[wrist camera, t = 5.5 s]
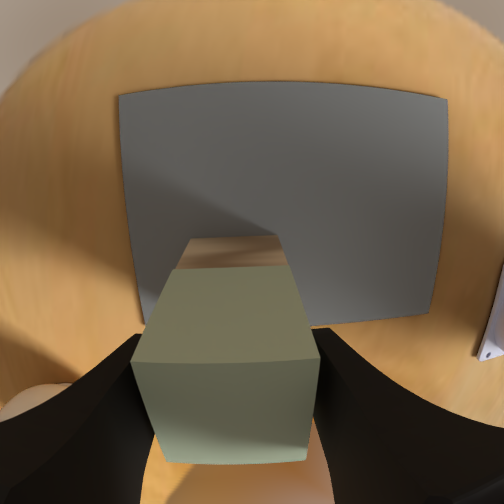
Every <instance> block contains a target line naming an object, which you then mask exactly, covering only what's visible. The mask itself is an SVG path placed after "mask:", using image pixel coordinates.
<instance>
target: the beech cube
mask: <svg viewBox="0 0 504 504" xmlns="http://www.w3.org/2000/svg"><path fill="white" fill-rule="evenodd" d="M280 265H288V263H287V260H286V257H285V254H284V252H283V249H282V246H281V243H280V241H279V238H278V235H267V236H240V237H216V238H193V239H190V241H189V243H188V245H187V247H186V249H185V251H184V253H183V255H182V256H181V258H180V260H179V262H178V264H177V266H176V268H175V269H199V268H228V267H255V266H280Z"/></svg>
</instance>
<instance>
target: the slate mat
mask: <svg viewBox="0 0 504 504" xmlns="http://www.w3.org/2000/svg"><path fill="white" fill-rule="evenodd" d="M119 123H120V143H121V158H122V171H123V183H124V193H125V202H126V211H127V219H128V227H129V235H130V242H131V249H132V255H133V262H134V268H135V274H136V279H137V285H138V291H139V296H140V301H141V306H142V311H143V316H144V321H145V326H146V325H147V323H148V320H149V318H150V316H151V314H152V312H153V310H154V307H155V305H156V303H157V301H158V299H159V297H160V295H161V292H162V290H163V288H164V286H165V284H166V282H167V280H168V278H169V276H170V274H171V272H172V270H173V269H175V268H176V266H177V264H178V262H179V260H180V258H181V256H182V255H183V253H184V251H185V249H186V247H187V245H188V243H189V241H190V239H193V238H216V237H240V236H267V235H278V238H279V241H280V243H281V246H282V249H283V252H284V254H285V257H286V260H287V263H288V265H289V266H290V268H291V271H292V274H293V277H294V280H295V283H296V286H297V289H298V292H299V295H300V298H301V301H302V304H303V307H304V310H305V313H306V315H307V318H308V321H309V325H310V326H317V325H329V324H340V323H351V322H361V321H371V320H380V319H388V318H397V317H405V316H412V315H420V314H427V313H429V308H430V304H431V299H432V294H433V289H434V284H435V278H436V273H437V267H438V261H439V254H440V248H441V240H442V232H443V224H444V215H445V204H446V191H447V174H448V101H447V99H442V98H437V97H432V96H427V95H422V94H416V93H410V92H404V91H397V90H391V89H383V88H375V87H366V86H357V85H346V84H332V83H315V82H233V83H215V84H202V85H191V86H181V87H172V88H164V89H156V90H149V91H143V92H136V93H130V94H124V95H119Z"/></svg>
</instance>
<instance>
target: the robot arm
mask: <svg viewBox="0 0 504 504" xmlns="http://www.w3.org/2000/svg"><path fill="white" fill-rule="evenodd" d="M311 331H312V334H313V337H314V340H315V343H316V346H317V349H318V352H319V355H320V366H319V374H318V382H317V390H316V397H315V404H314V411H313V418H314V421H315V424H316V428H317V431H318V434H319V437H320V440H321V444H322V447H323V450H324V454H325V457H326V460H327V464H328V468H329V472H330V477H331V483H332V488H333V494H334V501H335V504H504V428H501V427H496V426H491V425H487V424H484V423H481V422H478V421H474V420H471V419H468V418H465V417H463V416H460V415H457V414H455V413H452V412H450V411H448V410H445V409H443V408H441V407H439V406H437V405H434V404H432V403H430V402H428V401H426V400H424V399H422V398H421V397H419V396H417V395H415V394H414V393H412V392H410V391H409V390H407V389H405V388H404V387H402V386H400V385H399V384H397V383H396V382H394V381H393V380H392V379H390V378H389V377H387V376H386V375H385V374H383V373H382V372H380V371H379V370H378V369H376V368H375V367H374V366H373V365H371V364H370V363H369V362H368V361H366V360H365V359H364V358H363V357H362V356H360V355H359V354H358V353H357V352H356V351H355V350H353V349H352V348H351V347H350V346H349V345H348V344H347V343H346V342H345V341H343V340H342V339H341V338H340V337H339V336H338V335H337V334H336V333H335V332H334V331H332V330H331V329H330V328H319V329H311ZM141 336H142V334H134V335H133V336H132V337H130V338H129V339H128V340H127V341H125V342H124V343H123V344H122V345H121V346H119V347H118V348H117V349H116V350H115V351H114V352H112V353H111V354H110V355H109V356H108V357H106V358H105V359H104V360H103V361H102V362H100V363H99V364H98V365H97V366H96V367H94V368H93V369H92V370H90V371H89V372H88V373H86V374H85V375H84V376H82V377H81V378H80V379H78V380H77V381H76V382H74V383H73V384H72V385H70V386H69V387H67V388H66V389H65V390H63V391H61V392H60V393H58V394H57V395H55V396H53V397H52V398H50V399H48V400H47V401H45V402H43V403H41V404H40V405H38V406H36V407H34V408H32V409H29V410H27V411H25V412H23V413H21V414H19V415H17V416H15V417H12V418H10V419H7V420H5V421H2V422H0V504H140V498H141V490H142V482H143V476H144V471H145V467H146V463H147V459H148V456H149V452H150V449H151V445H152V442H153V438H154V435H155V432H154V429H153V427H152V424H151V421H150V419H149V416H148V413H147V411H146V408H145V405H144V402H143V399H142V396H141V393H140V390H139V387H138V384H137V381H136V378H135V375H134V372H133V369H132V366H131V362H130V361H131V359H132V356H133V354H134V352H135V350H136V347H137V345H138V343H139V340H140V338H141ZM500 355H504V265H503V268H502V273H501V277H500V281H499V286H498V290H497V293H496V297H495V301H494V305H493V308H492V312H491V315H490V318H489V322H488V325H487V328H486V331H485V334H484V337H483V340H482V343H481V346H480V348H479V351H478V354H477V359H478V360H479V361H480V362H481V361H485V360H488V359H491V358H494V357H497V356H500Z"/></svg>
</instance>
